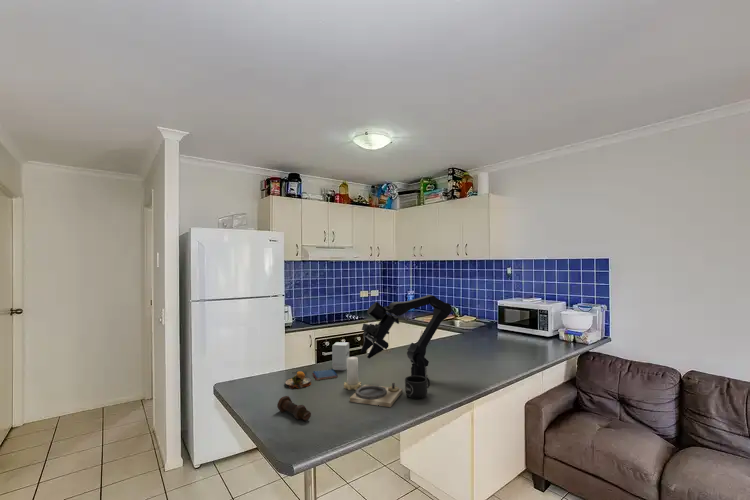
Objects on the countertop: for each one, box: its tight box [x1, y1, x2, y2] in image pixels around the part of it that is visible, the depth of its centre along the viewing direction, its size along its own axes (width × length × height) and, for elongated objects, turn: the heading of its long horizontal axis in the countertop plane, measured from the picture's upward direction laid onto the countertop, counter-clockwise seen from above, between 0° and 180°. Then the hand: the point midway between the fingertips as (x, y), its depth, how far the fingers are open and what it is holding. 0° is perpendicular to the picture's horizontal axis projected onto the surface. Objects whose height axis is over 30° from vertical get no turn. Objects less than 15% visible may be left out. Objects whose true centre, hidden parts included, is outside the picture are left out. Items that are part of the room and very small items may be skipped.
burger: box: [284, 369, 312, 390], centre depth 164 cm, size 12×12×8 cm
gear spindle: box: [343, 356, 362, 391], centre depth 160 cm, size 8×8×12 cm
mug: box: [404, 375, 431, 400], centre depth 149 cm, size 12×9×7 cm
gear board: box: [349, 382, 403, 408], centre depth 148 cm, size 17×16×4 cm
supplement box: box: [331, 341, 350, 371], centre depth 187 cm, size 7×7×13 cm
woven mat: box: [312, 368, 338, 381], centre depth 175 cm, size 10×11×2 cm
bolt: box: [276, 395, 312, 421], centre depth 131 cm, size 6×5×15 cm
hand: (364, 355), depth 162 cm, fingers open, 9 cm apart
